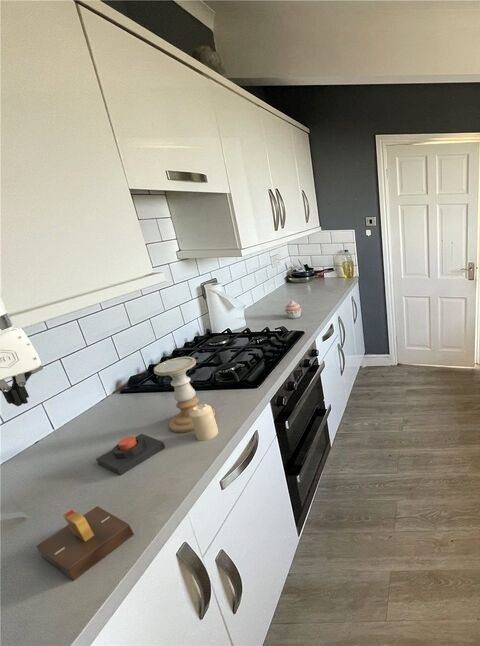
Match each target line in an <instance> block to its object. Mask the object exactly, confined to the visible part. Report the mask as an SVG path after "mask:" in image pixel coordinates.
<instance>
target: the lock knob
mask: <svg viewBox="0 0 480 646" xmlns="http://www.w3.org/2000/svg"><path fill="white" fill-rule="evenodd" d="M63 518H64V520H65V522H66V524H67V525H68V526H69V527H70V529H71V531H72V533H73V534H74V535H76V536H77V537H79V538H80V539H82V540H83V541H85V542H86V541H87V540H88V539H90V538H91V537H93V536H94V534H93V532H92V530H91V528H90V526H89V525H88V523H87V521H86V519H85V517H83V515H81V514H80V513H79V512H77V511H75V510H73V509H71V510H69V511H68V512H66V513H64V514H63Z"/></svg>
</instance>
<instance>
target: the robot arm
mask: <svg viewBox="0 0 480 646" xmlns="http://www.w3.org/2000/svg"><path fill="white" fill-rule="evenodd" d="M12 325H14V324H13V321H12V320H11V318H10V315H9V313H8V311H7V309H6V306H5V303H4V302H3V300H2V297H1V296H0V329H1V330H7V329H9V330H12V328H13V326H12ZM18 326H19V327H21V326H20V325H18ZM19 327H16V328H15V329H17V330H14V331H9V332H6V333H3V334H0V392H1V393H2V395H3V397H4V399H5V401H6V403H7V404H9V405H10V404H12V405H14V406H15V407H20V406H22V405H26V404H29V401H28V398H30V395H29V393H28V391H27V389H26V385H27V382H28V381H29V379H30V377H31V376H32V375H35V374H36V373H39V372H41V371H42V370H44V366H42V361H41V358H40V356H39V354H38V352H37V350H36V348H35V347H34V345H33V344H32V341H31V339H30V338H29V336H27V334H26V332H25V331H24V329H23V328H22V327H21V328H20V329H18V328H19ZM6 379H11V382H12V383H11V385H9V384H8V382H7V381H6Z"/></svg>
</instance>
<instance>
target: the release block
mask: <svg viewBox="0 0 480 646" xmlns="http://www.w3.org/2000/svg"><path fill="white" fill-rule="evenodd" d="M134 437H135V439H136V441H137V444H136V445H135V446H133V447H132V448H129V449H126V450H120V448H119V445H118V443H117V444H116V445H115V446H114V447H113V448H112V449H111V450H109V451H107V452H105V453H104V454H102V455H100V456H98V457H97V458H95V461H96V462H97V464H98V466H100V467H102V468H104V469H106V470H108V471H110V472H112V473H114V474H116V475H118V476H119V477H120V476H122V475H124V474H126V473H127V472H129V471H131V470H132V469H134V468H135V467H137V466H139V465H140V464H142V463H144V462H146V461H147V460H148V459H150V458H152V457H154V456H155V455H156V454H158V453H160V452H162V451H163V450H165V449H166V446H165V444H164V442H163V440H159V439H157V438H154V437H152V436H149V435H147V434H144V433H140V434H138V435H136V436H134Z"/></svg>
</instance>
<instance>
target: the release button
mask: <svg viewBox="0 0 480 646" xmlns="http://www.w3.org/2000/svg"><path fill="white" fill-rule="evenodd" d="M135 437H136V436H133V435H131V436H130V435H129V436H127V437H124V438H122V439H121V440H119V441H118V442H117V444H118V445H119V448H120V450H126V449H129V448H132V447H133V446H135V445H136V444H137V441H136V439H135Z"/></svg>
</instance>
